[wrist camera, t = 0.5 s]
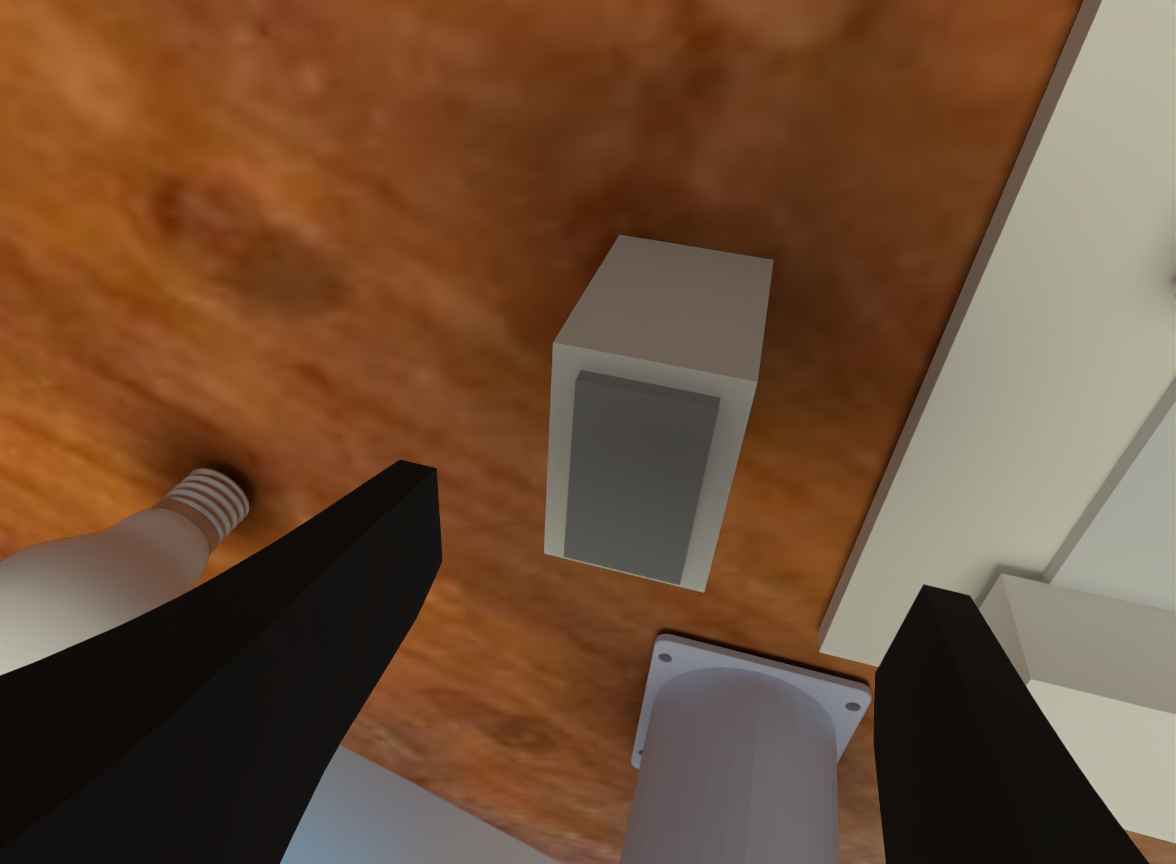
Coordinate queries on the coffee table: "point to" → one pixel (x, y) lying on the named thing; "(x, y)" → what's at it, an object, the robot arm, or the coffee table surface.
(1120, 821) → the mounted modules
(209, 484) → the lightbulb
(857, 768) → the coffee table surface
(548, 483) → the block
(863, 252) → the coffee table surface
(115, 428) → the coffee table surface
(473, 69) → the coffee table surface
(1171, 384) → the board
